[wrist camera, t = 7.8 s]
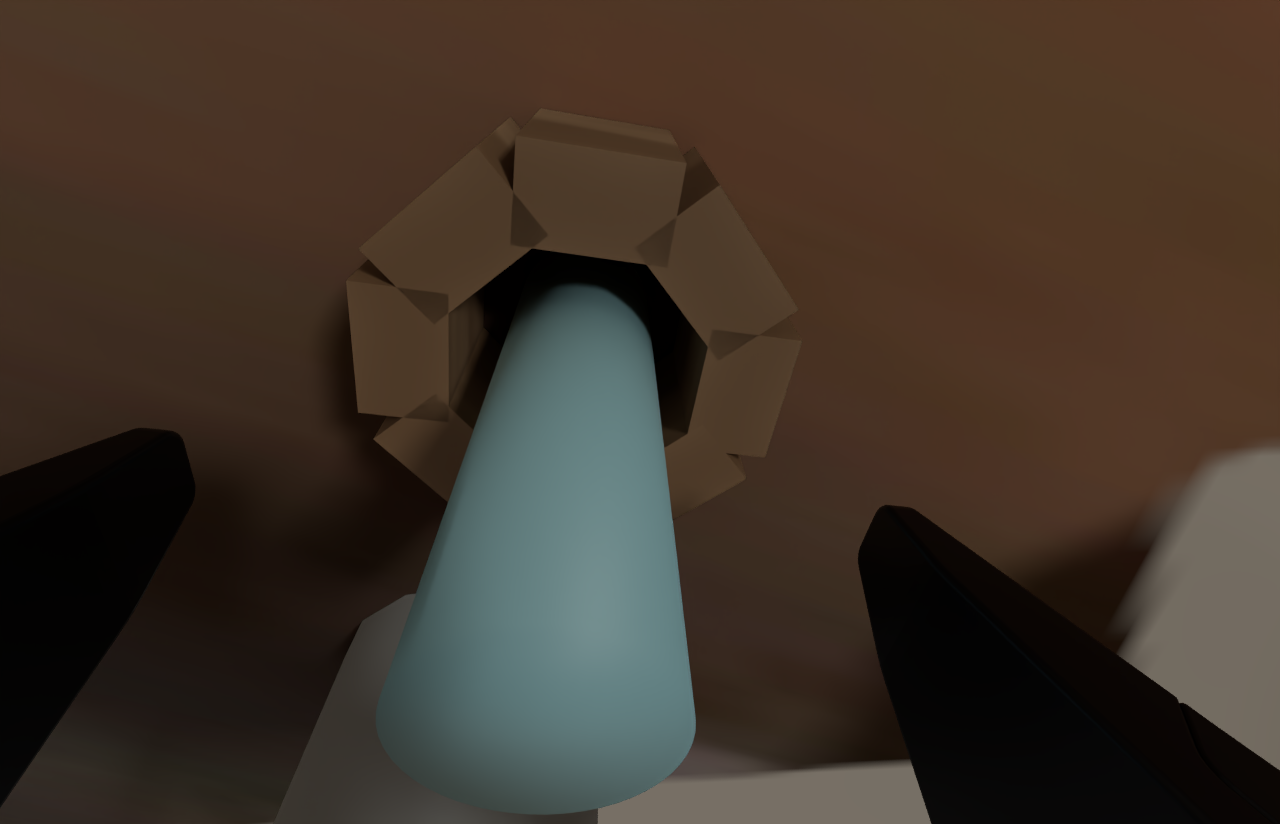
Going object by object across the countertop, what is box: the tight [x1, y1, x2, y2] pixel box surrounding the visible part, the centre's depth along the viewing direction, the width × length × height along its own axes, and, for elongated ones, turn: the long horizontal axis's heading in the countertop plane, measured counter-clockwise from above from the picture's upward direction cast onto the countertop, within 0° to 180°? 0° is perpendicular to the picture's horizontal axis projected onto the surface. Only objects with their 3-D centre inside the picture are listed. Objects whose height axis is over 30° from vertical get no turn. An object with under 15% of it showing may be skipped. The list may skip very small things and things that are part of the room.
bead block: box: [346, 108, 802, 520], centre depth 12 cm, size 8×8×4 cm
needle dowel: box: [376, 251, 696, 815], centre depth 10 cm, size 3×3×10 cm
